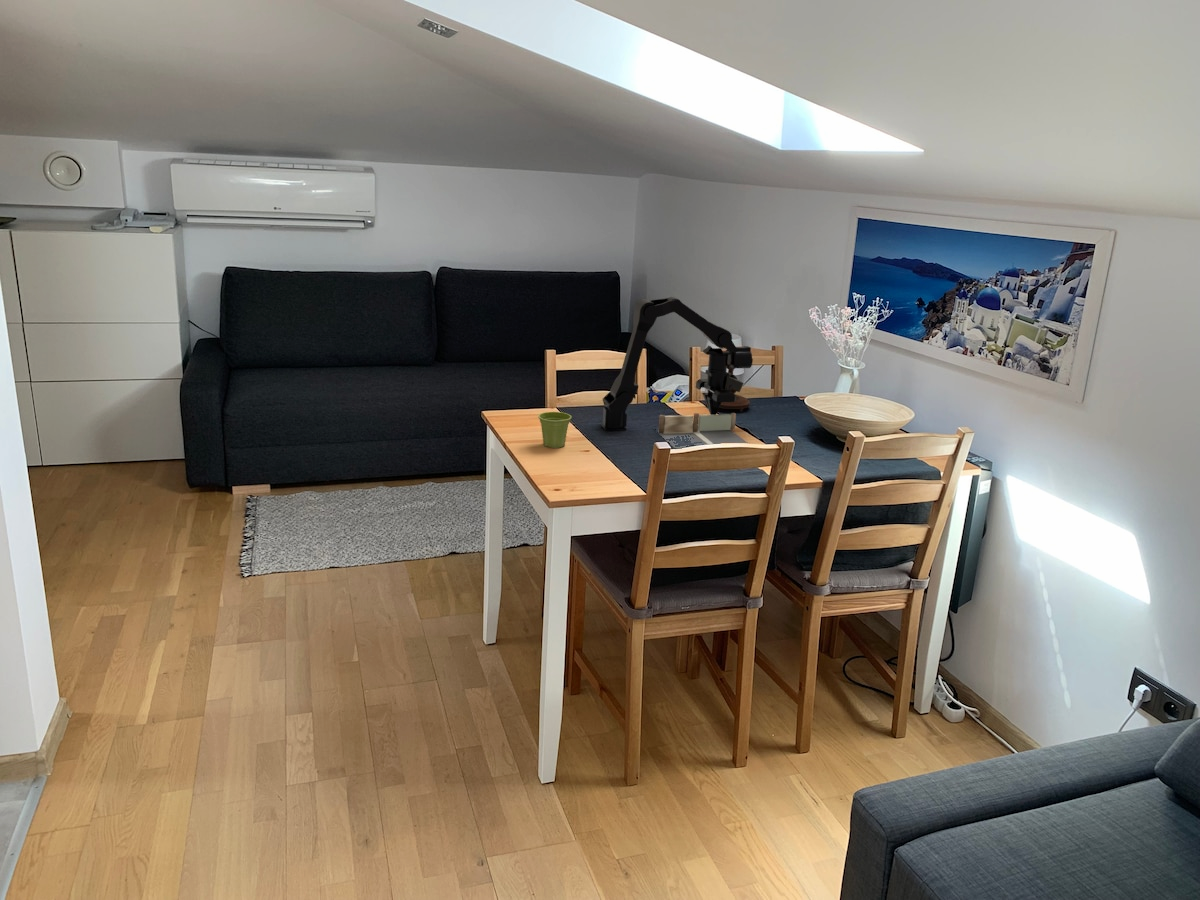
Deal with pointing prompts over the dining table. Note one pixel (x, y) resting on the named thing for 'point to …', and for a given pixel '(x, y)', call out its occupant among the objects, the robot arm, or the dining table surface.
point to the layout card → (705, 437)
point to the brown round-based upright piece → (740, 400)
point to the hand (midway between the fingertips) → (713, 417)
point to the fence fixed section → (678, 423)
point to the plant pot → (554, 428)
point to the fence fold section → (717, 422)
